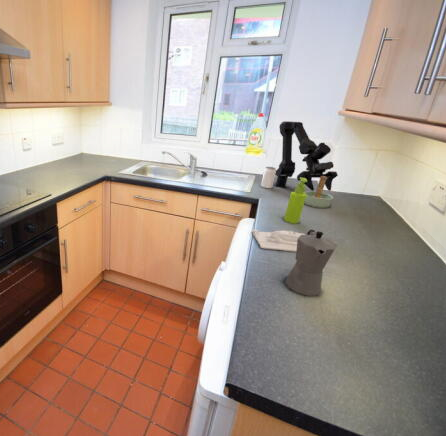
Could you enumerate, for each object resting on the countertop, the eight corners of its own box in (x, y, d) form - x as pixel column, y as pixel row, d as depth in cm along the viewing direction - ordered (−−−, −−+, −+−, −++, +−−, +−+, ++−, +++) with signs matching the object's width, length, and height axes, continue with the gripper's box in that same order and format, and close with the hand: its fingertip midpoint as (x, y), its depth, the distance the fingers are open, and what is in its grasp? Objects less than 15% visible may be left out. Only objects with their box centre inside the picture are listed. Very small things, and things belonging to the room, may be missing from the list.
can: (269, 185, 186) (274, 166, 181) (273, 188, 180) (278, 169, 175) (259, 185, 186) (263, 166, 181) (262, 188, 180) (267, 168, 175)
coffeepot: (325, 304, 80) (347, 245, 73) (287, 295, 83) (304, 238, 76) (314, 274, 94) (332, 223, 86) (281, 268, 97) (296, 217, 90)
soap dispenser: (285, 223, 131) (297, 179, 124) (283, 217, 137) (294, 175, 130) (300, 225, 130) (313, 181, 122) (297, 219, 136) (309, 177, 128)
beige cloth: (246, 234, 122) (248, 223, 120) (303, 234, 121) (306, 223, 119) (264, 254, 106) (266, 242, 104) (329, 254, 106) (332, 242, 104)
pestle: (310, 200, 159) (317, 174, 154) (320, 201, 157) (328, 176, 152) (311, 203, 155) (319, 177, 150) (321, 204, 153) (330, 178, 148)
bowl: (300, 198, 165) (302, 189, 163) (328, 202, 160) (330, 193, 158) (302, 205, 154) (304, 196, 152) (332, 210, 148) (335, 200, 147)
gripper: (306, 155, 150) (314, 182, 144) (341, 156, 151) (350, 182, 146) (293, 167, 160) (300, 192, 154) (325, 167, 162) (334, 193, 156)
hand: (321, 190), depth 152 cm, fingers open, 9 cm apart
